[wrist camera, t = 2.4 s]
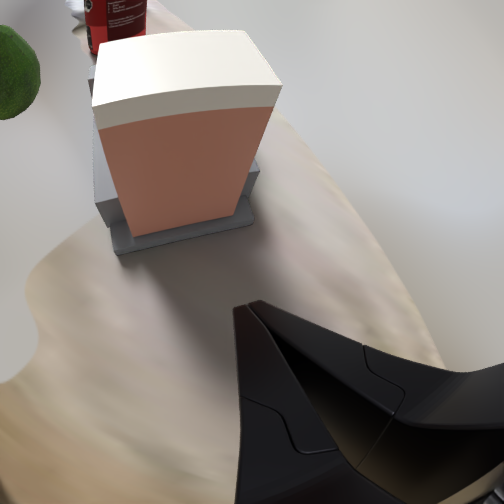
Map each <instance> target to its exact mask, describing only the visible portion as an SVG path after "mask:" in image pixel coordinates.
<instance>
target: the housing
mask: <svg viewBox="0 0 504 504" xmlns="http://www.w3.org/2000/svg"><path fill="white" fill-rule="evenodd" d="M95 72H96V65H93V66H90V71H89V77H88V82H89V87H90V92H91V96H92V100H93V89H94V80H95ZM259 172H260V170H259V168H258V165H257V163H256V160H255V158H254V160H253V162H252V165H251V168H250V170H249V173H248V176H247V178H246V181H245V184H244V187H243V189H242V192H241V195H240V197H239V200H238V203H237V206H236V209H235V211H234V214H233V215H232V216H227V217H222V218H217V219H212V220H208V221H203V222H198V223H193V224H189V225H184V226H180V227H175V228H171V229H166V230H162V231H158V232H153V233H149V234H145V235H140V236H136V237H133V236H132V233H131V231H130V228H129V226H128V223H127V220H126V217H125V215H124V212H123V209H122V206H121V204H120V201H119V198H118V195H117V192H116V189H115V186H114V183H113V180H112V177H111V174H110V170H109V167H108V164H107V161H106V157H105V154H104V150H103V147H102V143H101V140H100V136H99V133H98V129H97V125H96V121H95V117H94V125H93V174H94V175H93V176H94V197H95V204H96V206H97V208H98V210H99V212H100V214H101V216H102V218H103V220H104V222H105V224H106V226H107V228H109V227H110V229H111V236H112V243H113V250H114V252H115V254H116V255H121V254H125V253H129V252H133V251H138V250H142V249H146V248H150V247H154V246H158V245H163V244H167V243H171V242H176V241H180V240H184V239H189V238H193V237H198V236H202V235H207V234H211V233H216V232H220V231H225V230H229V229H234V228H239V227H243V226H248V225H252V223H253V221H254V219H255V218H254V215H253V213H252V210H251V207H250V204H249V202H248V199H247V198H249V195H250V193H251V190H252V188H253V186H254V183H255V181H256V179H257V176H258V174H259Z"/></svg>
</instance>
